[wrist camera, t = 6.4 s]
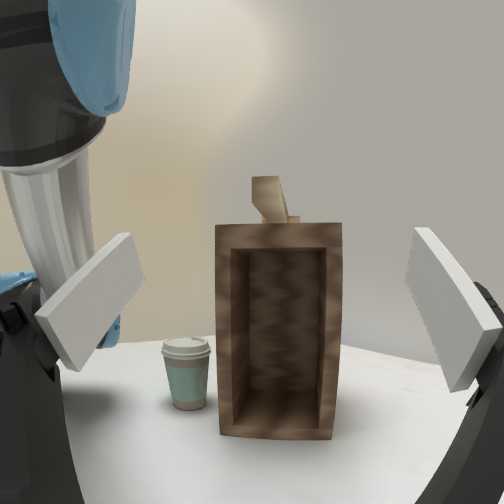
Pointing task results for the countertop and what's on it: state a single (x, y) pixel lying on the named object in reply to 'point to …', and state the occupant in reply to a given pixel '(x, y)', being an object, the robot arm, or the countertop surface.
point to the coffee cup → (187, 370)
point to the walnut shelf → (278, 328)
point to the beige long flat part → (271, 200)
